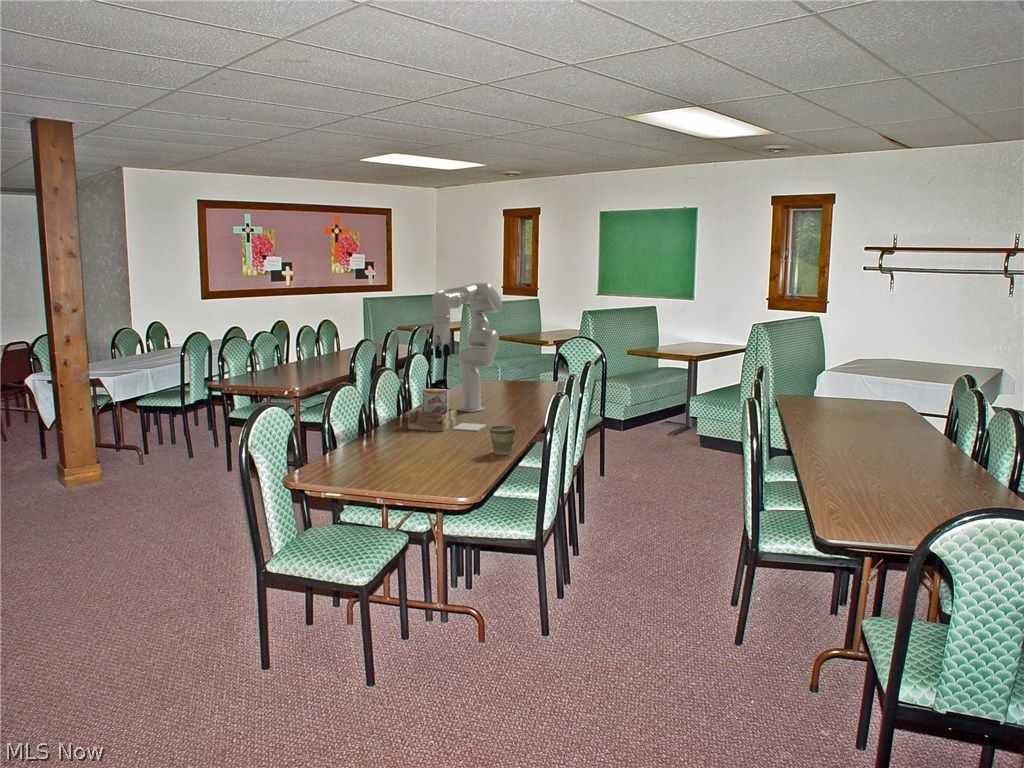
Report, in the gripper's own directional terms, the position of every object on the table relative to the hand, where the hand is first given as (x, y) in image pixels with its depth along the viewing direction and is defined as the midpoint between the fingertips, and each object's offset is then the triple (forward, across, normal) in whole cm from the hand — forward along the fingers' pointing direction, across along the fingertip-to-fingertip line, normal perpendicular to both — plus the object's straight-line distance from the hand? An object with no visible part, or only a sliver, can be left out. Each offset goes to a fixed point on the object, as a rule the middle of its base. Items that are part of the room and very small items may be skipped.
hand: (442, 357), depth 349 cm
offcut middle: (+28, +16, +1) cm, 33 cm away
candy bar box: (+31, +9, 0) cm, 32 cm away
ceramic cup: (+31, +50, +47) cm, 75 cm away
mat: (+30, +11, +17) cm, 36 cm away
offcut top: (+26, +17, 0) cm, 31 cm away
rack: (+30, +13, 0) cm, 33 cm away
